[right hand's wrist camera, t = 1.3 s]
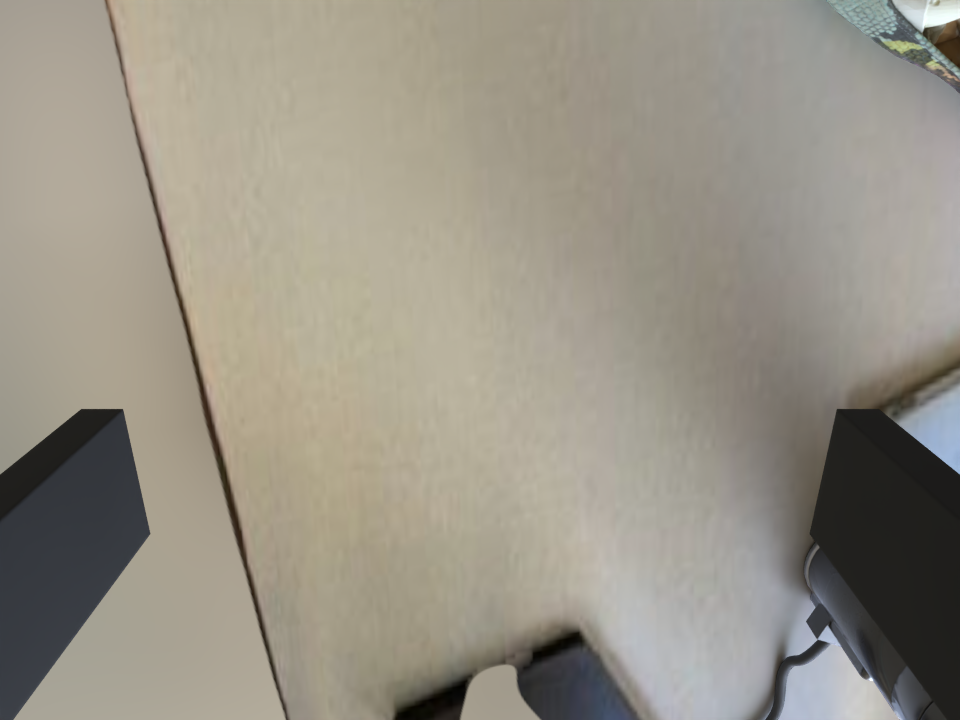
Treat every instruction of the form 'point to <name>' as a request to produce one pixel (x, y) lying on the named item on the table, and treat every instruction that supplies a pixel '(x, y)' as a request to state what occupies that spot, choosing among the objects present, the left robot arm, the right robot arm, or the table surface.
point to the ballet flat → (912, 31)
